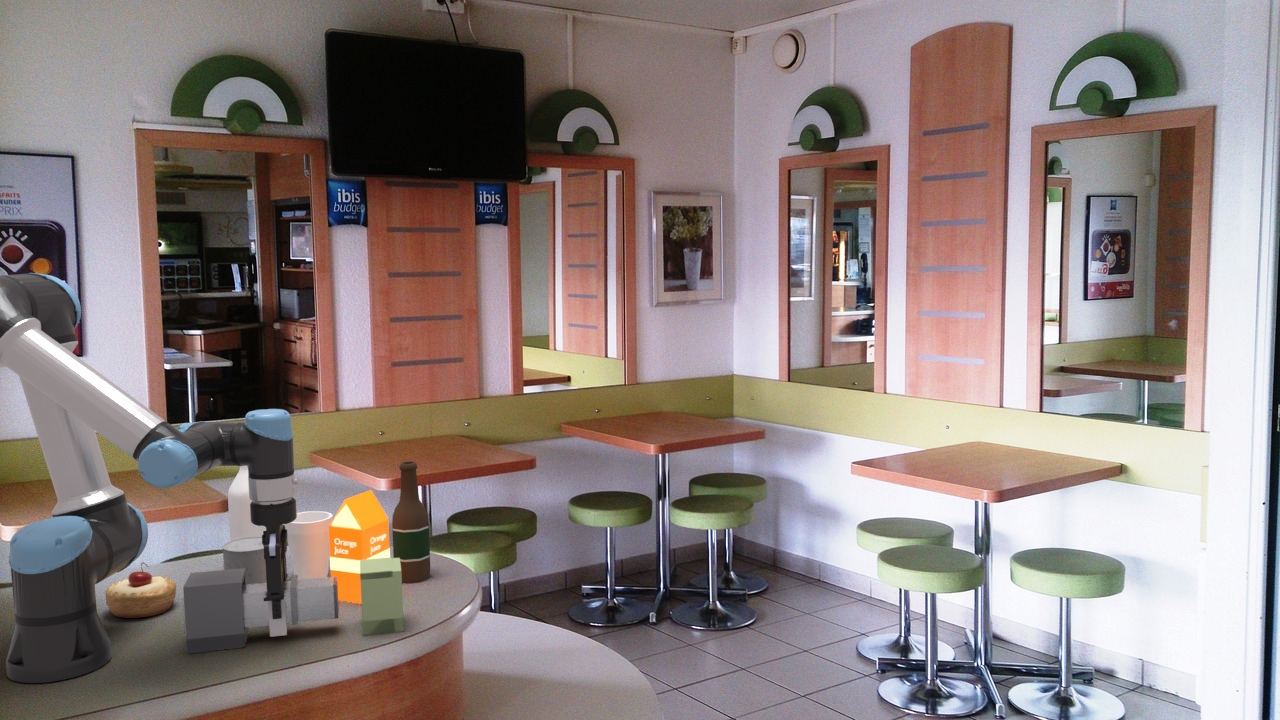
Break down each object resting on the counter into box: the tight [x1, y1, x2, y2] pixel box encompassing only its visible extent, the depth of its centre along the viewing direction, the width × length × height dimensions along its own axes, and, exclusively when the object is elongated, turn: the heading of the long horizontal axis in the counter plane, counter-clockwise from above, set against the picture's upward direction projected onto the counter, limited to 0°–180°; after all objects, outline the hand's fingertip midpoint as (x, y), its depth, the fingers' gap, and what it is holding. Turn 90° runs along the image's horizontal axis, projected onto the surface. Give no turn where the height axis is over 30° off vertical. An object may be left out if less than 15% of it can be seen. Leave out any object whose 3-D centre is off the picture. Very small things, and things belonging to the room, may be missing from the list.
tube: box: [181, 574, 340, 635], centre depth 182 cm, size 25×7×7 cm, turn 105°
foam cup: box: [283, 510, 334, 580], centre depth 213 cm, size 10×9×13 cm
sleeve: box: [182, 568, 250, 655], centre depth 180 cm, size 9×8×12 cm
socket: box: [360, 556, 405, 636], centre depth 187 cm, size 7×8×11 cm
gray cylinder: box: [221, 537, 267, 584], centre depth 197 cm, size 10×10×12 cm
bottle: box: [227, 466, 266, 542], centre depth 217 cm, size 8×8×30 cm
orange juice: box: [329, 489, 391, 605], centre depth 203 cm, size 8×9×20 cm
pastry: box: [104, 561, 177, 619], centre depth 196 cm, size 12×12×9 cm
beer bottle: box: [391, 460, 431, 584], centre depth 213 cm, size 8×8×24 cm
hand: (279, 628), depth 183 cm, fingers closed on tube, 5 cm apart
